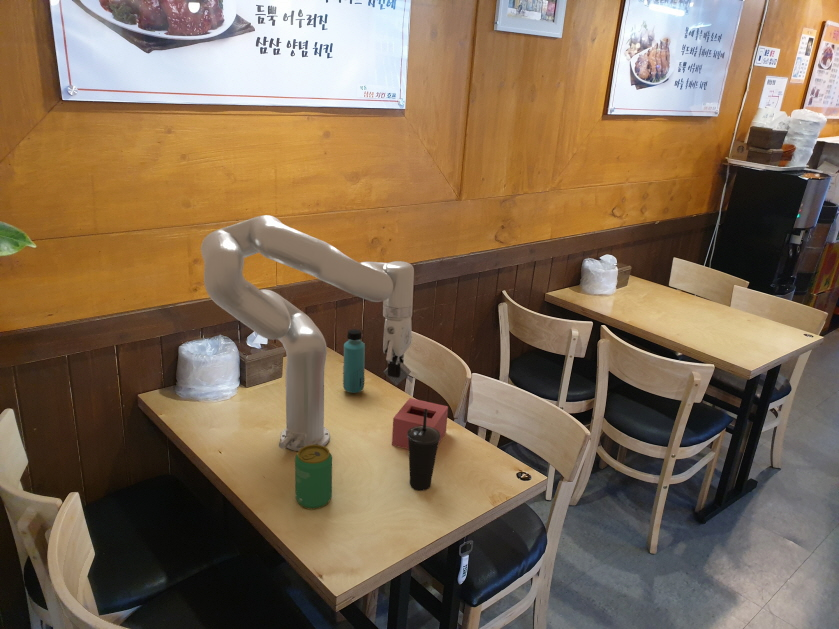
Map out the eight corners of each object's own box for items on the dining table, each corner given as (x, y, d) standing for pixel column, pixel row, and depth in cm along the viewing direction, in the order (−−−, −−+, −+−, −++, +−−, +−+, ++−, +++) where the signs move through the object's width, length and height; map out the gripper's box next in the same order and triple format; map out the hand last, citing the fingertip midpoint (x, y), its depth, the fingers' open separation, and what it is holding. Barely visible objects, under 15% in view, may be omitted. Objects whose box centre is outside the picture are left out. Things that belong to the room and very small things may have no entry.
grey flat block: (408, 375, 164) (395, 361, 164) (396, 385, 166) (383, 372, 166) (411, 371, 166) (398, 358, 166) (399, 382, 168) (386, 368, 168)
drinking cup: (413, 497, 142) (418, 420, 135) (398, 479, 148) (402, 404, 141) (442, 489, 145) (448, 414, 138) (426, 472, 151) (432, 399, 144)
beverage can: (337, 503, 138) (338, 457, 134) (304, 515, 134) (303, 467, 130) (322, 484, 144) (322, 439, 140) (289, 494, 140) (289, 448, 136)
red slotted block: (431, 455, 158) (433, 427, 156) (391, 444, 162) (393, 417, 159) (445, 432, 169) (448, 406, 166) (408, 423, 172) (409, 397, 170)
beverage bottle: (360, 398, 184) (362, 336, 177) (339, 395, 185) (340, 333, 178) (366, 389, 190) (369, 328, 183) (346, 386, 191) (347, 325, 184)
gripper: (401, 322, 152) (399, 389, 158) (420, 302, 166) (417, 364, 172) (372, 317, 154) (371, 384, 160) (394, 298, 168) (392, 360, 174)
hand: (395, 373), depth 166 cm, fingers closed on grey flat block, 2 cm apart
